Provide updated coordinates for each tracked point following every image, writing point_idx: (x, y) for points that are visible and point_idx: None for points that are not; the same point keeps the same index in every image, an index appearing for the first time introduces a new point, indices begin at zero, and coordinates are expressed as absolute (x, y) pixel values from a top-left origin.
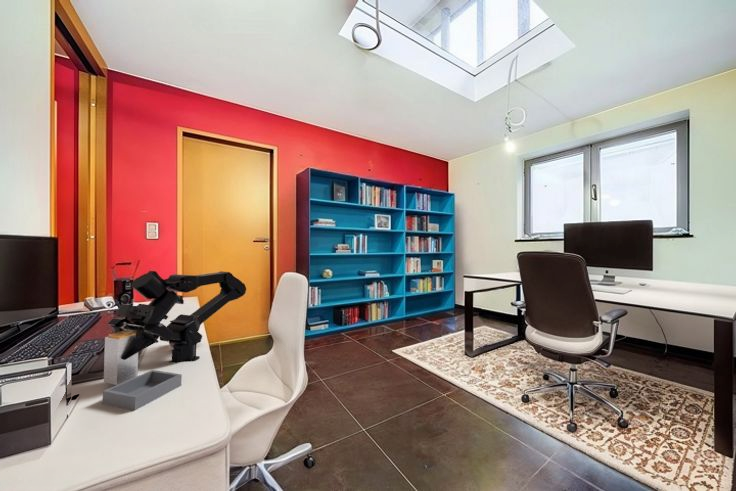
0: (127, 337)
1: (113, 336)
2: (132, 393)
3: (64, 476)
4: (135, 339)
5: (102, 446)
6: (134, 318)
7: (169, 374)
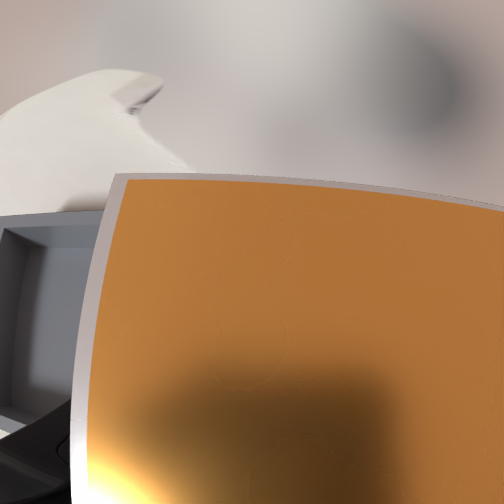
0: (84, 374)
1: (365, 209)
2: None
3: (39, 100)
4: (56, 459)
5: (27, 147)
6: None
7: (9, 418)
